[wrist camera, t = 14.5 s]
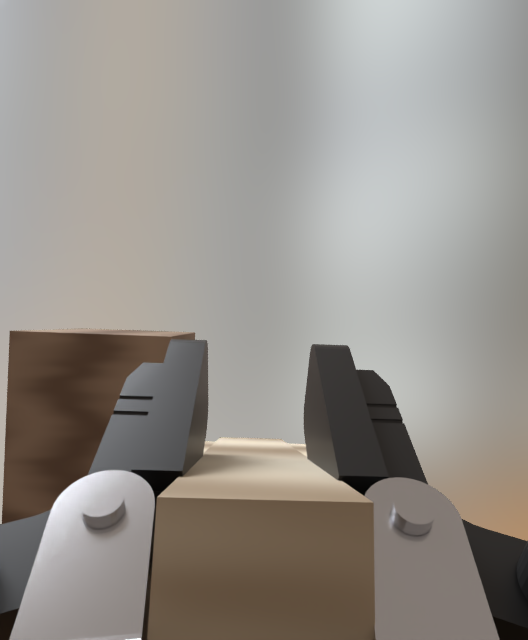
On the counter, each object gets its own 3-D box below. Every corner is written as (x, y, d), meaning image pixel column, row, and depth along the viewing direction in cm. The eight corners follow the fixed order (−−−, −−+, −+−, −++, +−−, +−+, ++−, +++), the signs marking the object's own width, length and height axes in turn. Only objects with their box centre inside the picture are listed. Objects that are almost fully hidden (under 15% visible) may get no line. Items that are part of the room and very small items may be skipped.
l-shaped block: (575, 752, 5) (556, 507, 5) (-71, 745, 4) (-36, 491, 5) (305, 475, 25) (305, 432, 26) (189, 473, 25) (191, 429, 25)
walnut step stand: (-15, 907, 27) (9, 330, 27) (68, 722, 39) (84, 328, 40) (309, 906, 28) (329, 342, 28) (289, 724, 40) (303, 336, 40)
